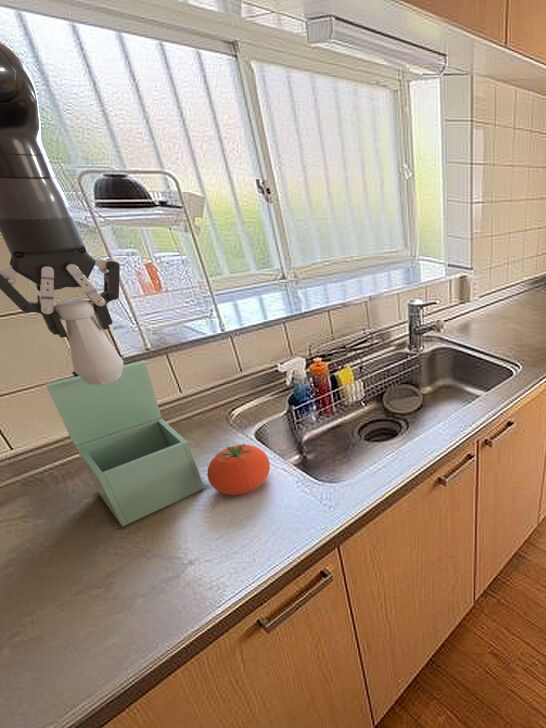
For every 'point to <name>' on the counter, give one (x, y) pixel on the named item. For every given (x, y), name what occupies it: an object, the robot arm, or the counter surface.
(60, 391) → the green box lid
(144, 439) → the mint green box
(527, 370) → the counter surface
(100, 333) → the salt shaker
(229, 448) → the tomato
